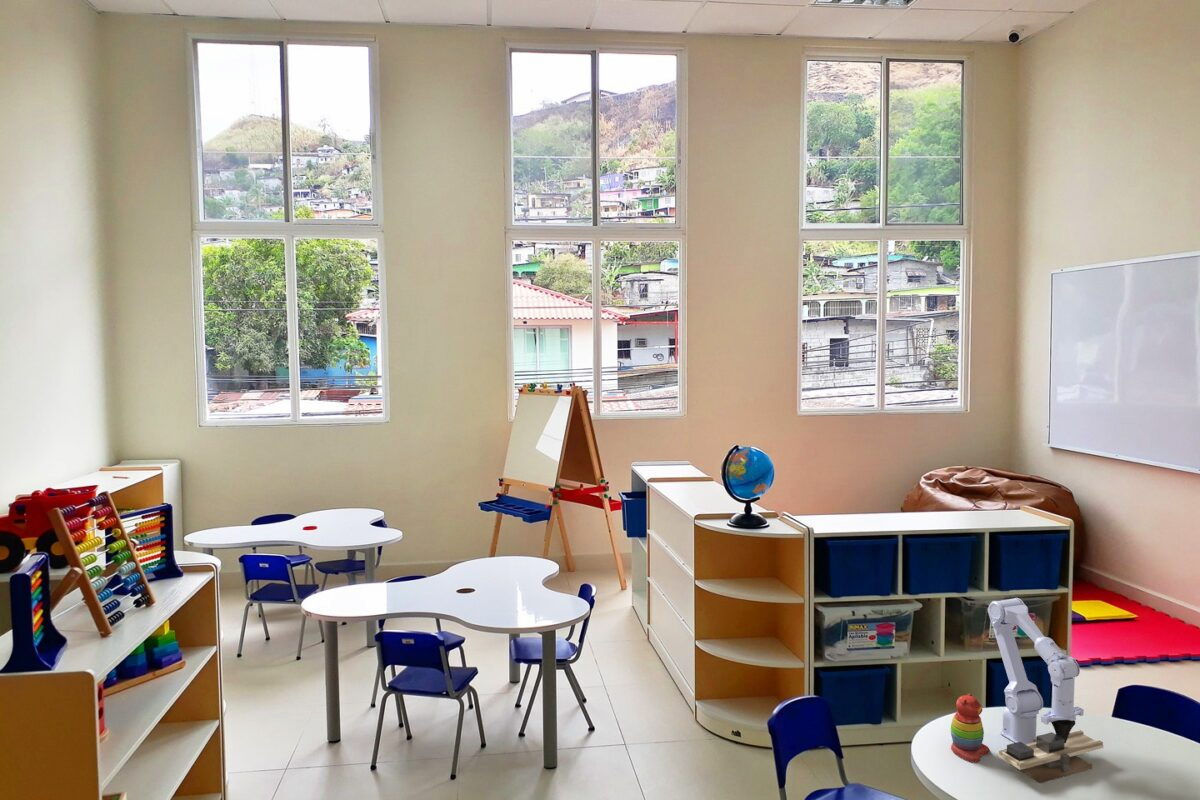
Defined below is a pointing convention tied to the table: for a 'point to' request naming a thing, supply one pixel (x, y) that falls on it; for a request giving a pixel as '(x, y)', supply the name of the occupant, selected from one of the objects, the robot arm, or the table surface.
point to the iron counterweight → (1020, 751)
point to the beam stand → (1057, 768)
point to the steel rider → (1050, 743)
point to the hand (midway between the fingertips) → (1061, 741)
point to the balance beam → (1072, 747)
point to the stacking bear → (968, 730)
